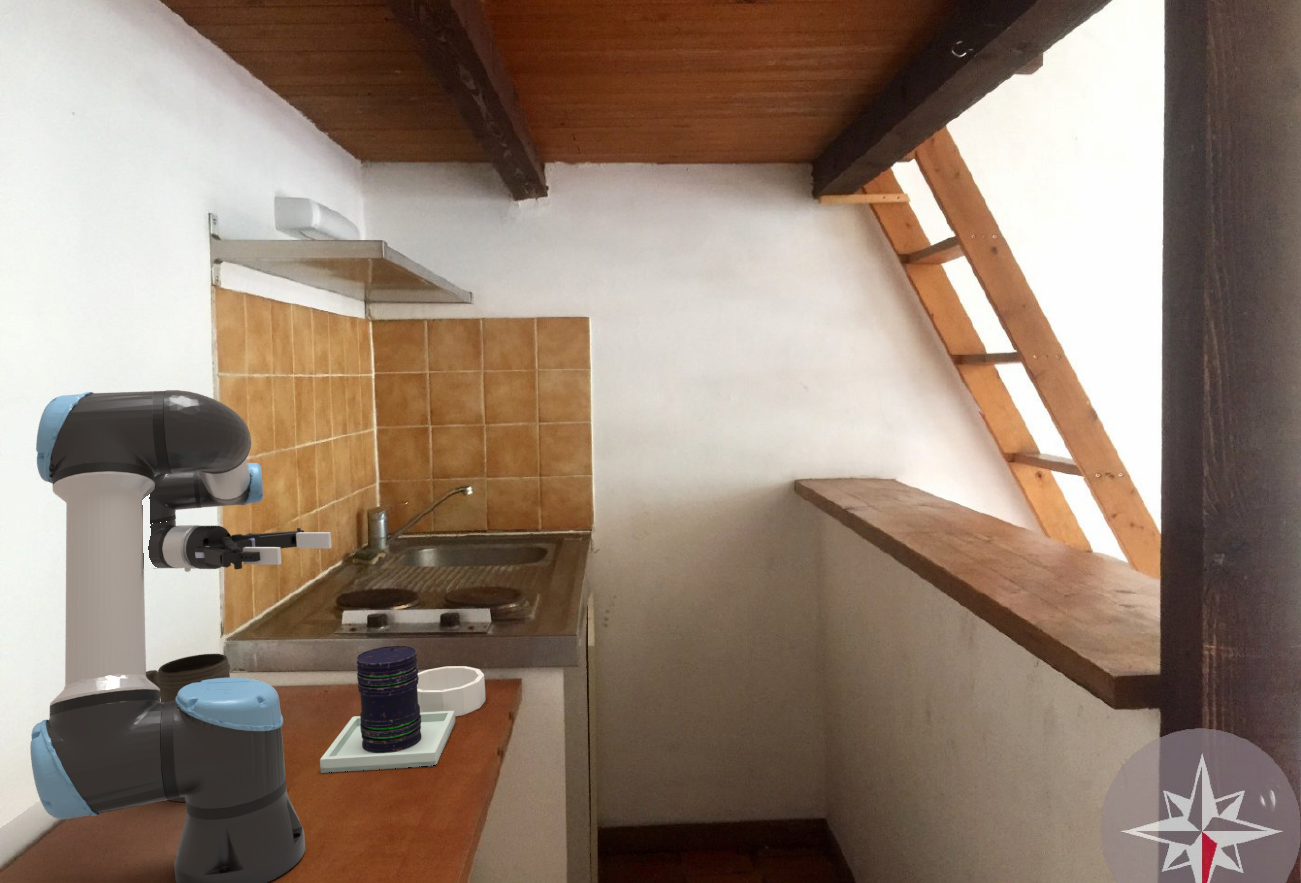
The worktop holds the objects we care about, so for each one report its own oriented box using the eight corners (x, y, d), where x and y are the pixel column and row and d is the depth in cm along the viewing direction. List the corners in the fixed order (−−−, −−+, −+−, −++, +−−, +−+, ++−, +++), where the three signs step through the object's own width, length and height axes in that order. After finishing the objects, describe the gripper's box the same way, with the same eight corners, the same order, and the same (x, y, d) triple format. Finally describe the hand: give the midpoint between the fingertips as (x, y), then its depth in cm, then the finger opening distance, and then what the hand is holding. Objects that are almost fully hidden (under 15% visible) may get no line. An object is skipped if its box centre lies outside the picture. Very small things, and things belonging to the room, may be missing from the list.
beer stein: (259, 770, 140) (242, 648, 139) (220, 802, 129) (201, 670, 128) (170, 776, 142) (152, 655, 141) (124, 808, 131) (104, 678, 130)
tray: (435, 766, 139) (435, 752, 139) (320, 773, 138) (319, 759, 138) (455, 722, 157) (454, 710, 157) (353, 728, 156) (352, 716, 156)
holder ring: (442, 724, 156) (440, 697, 156) (390, 710, 165) (388, 684, 164) (500, 698, 168) (498, 673, 168) (448, 686, 176) (447, 662, 176)
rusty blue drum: (411, 753, 142) (406, 663, 141) (352, 754, 143) (346, 664, 142) (429, 729, 152) (424, 644, 151) (373, 730, 153) (368, 646, 152)
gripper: (250, 554, 165) (349, 555, 160) (144, 585, 141) (257, 587, 136) (247, 514, 164) (347, 514, 159) (140, 538, 140) (253, 539, 135)
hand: (306, 547), depth 147 cm, fingers open, 13 cm apart
